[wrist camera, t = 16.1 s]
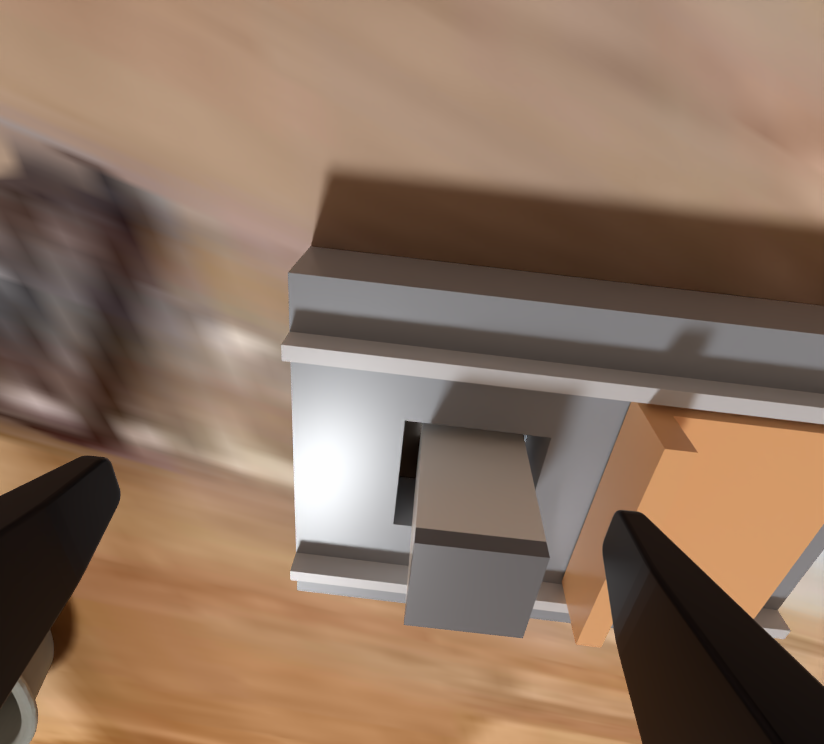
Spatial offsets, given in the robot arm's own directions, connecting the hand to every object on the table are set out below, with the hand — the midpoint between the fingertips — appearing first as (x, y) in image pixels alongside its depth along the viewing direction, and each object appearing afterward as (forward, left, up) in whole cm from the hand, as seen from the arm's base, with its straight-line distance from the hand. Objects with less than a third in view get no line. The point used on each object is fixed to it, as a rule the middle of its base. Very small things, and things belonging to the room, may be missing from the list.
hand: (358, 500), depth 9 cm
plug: (-3, +7, -12) cm, 14 cm away
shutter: (-12, +7, -8) cm, 17 cm away
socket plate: (-7, +7, -12) cm, 15 cm away
